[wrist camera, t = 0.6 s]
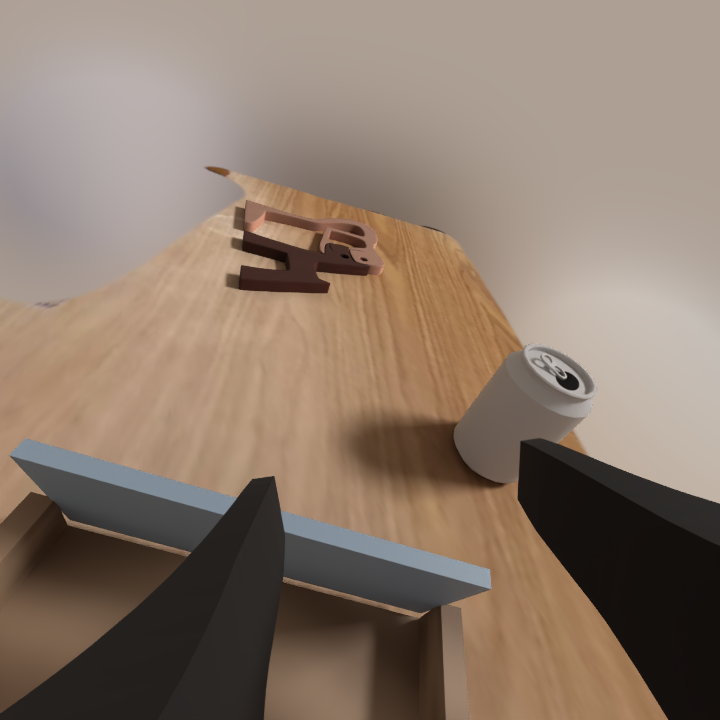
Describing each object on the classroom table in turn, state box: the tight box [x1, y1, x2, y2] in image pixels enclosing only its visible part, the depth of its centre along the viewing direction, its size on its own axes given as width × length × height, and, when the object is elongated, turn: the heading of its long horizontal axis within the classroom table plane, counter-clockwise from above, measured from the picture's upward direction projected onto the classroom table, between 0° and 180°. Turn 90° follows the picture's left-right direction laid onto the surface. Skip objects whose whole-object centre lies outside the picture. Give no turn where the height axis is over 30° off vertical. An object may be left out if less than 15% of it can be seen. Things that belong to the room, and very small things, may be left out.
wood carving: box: [239, 200, 384, 293], centre depth 58 cm, size 28×2×24 cm
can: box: [453, 344, 597, 484], centre depth 32 cm, size 8×8×12 cm
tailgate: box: [9, 438, 491, 613], centre depth 18 cm, size 1×21×8 cm, turn 82°
